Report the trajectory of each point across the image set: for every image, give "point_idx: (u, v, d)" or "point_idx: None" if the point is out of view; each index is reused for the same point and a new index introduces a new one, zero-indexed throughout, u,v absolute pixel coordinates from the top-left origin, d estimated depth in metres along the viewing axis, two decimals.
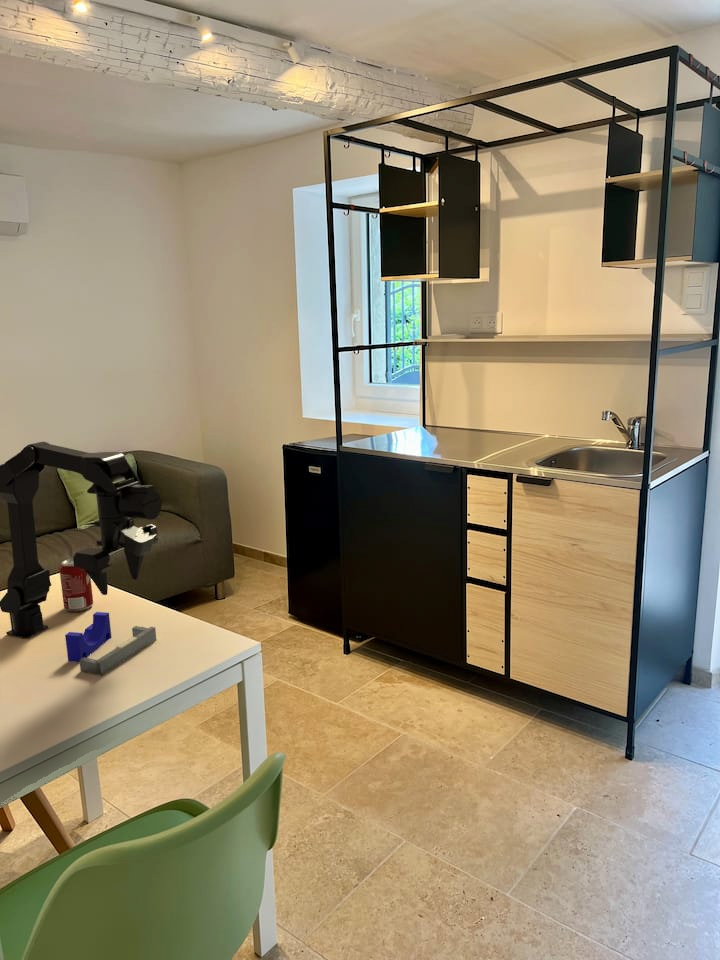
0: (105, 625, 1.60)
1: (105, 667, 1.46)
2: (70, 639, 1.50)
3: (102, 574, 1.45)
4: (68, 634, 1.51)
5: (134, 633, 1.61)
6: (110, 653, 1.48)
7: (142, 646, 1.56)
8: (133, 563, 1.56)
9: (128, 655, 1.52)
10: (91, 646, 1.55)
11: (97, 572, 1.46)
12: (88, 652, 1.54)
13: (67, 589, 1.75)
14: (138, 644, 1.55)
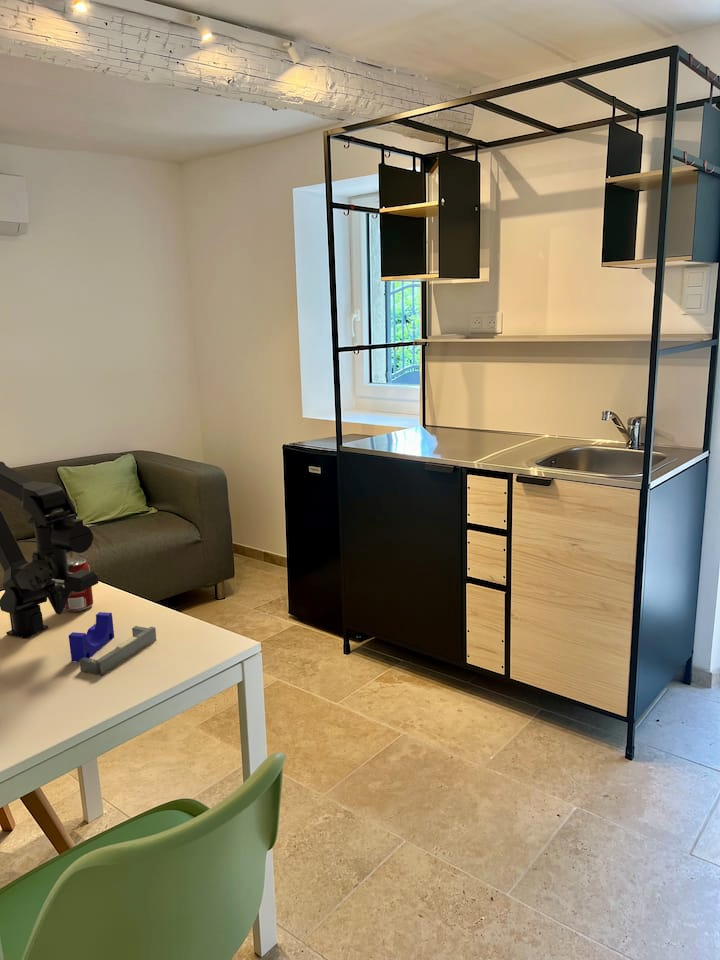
0: (108, 625, 1.60)
1: (105, 667, 1.46)
2: (73, 639, 1.50)
3: (45, 592, 1.56)
4: (71, 634, 1.51)
5: (134, 633, 1.61)
6: (110, 653, 1.48)
7: (142, 646, 1.56)
8: None
9: (128, 655, 1.52)
10: (94, 646, 1.55)
11: None
12: (91, 652, 1.54)
13: None
14: (138, 644, 1.55)
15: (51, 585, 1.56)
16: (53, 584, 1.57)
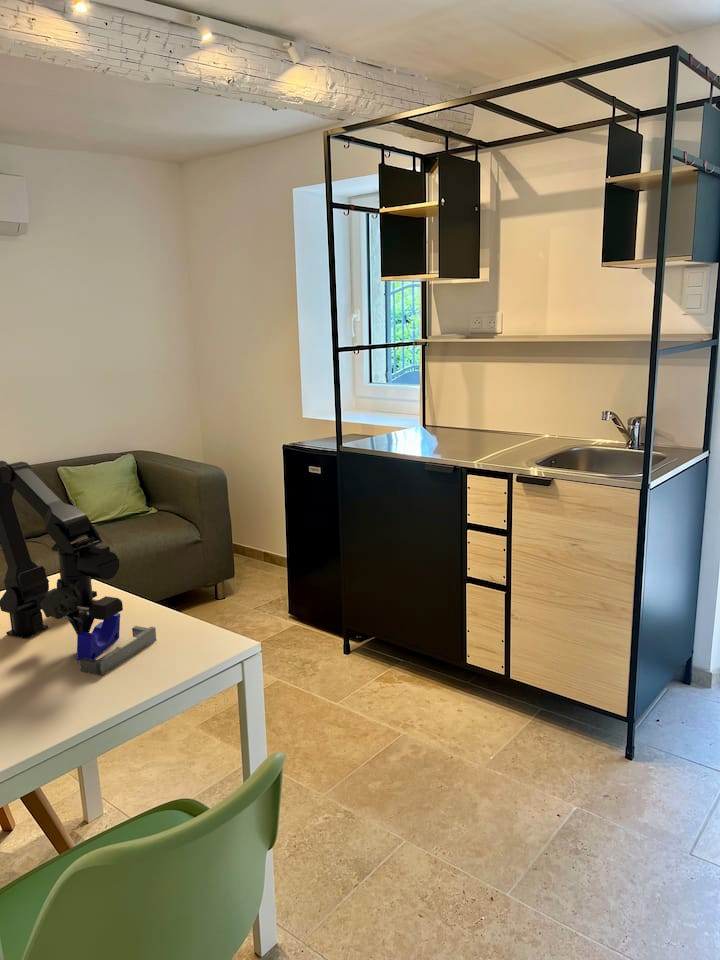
0: (115, 626, 1.59)
1: (105, 667, 1.46)
2: (82, 639, 1.50)
3: (69, 620, 1.55)
4: (80, 634, 1.50)
5: (134, 633, 1.61)
6: (110, 653, 1.48)
7: (142, 646, 1.56)
8: None
9: (128, 655, 1.52)
10: (100, 647, 1.54)
11: None
12: (97, 653, 1.53)
13: None
14: (138, 644, 1.55)
15: (75, 612, 1.55)
16: (77, 611, 1.56)
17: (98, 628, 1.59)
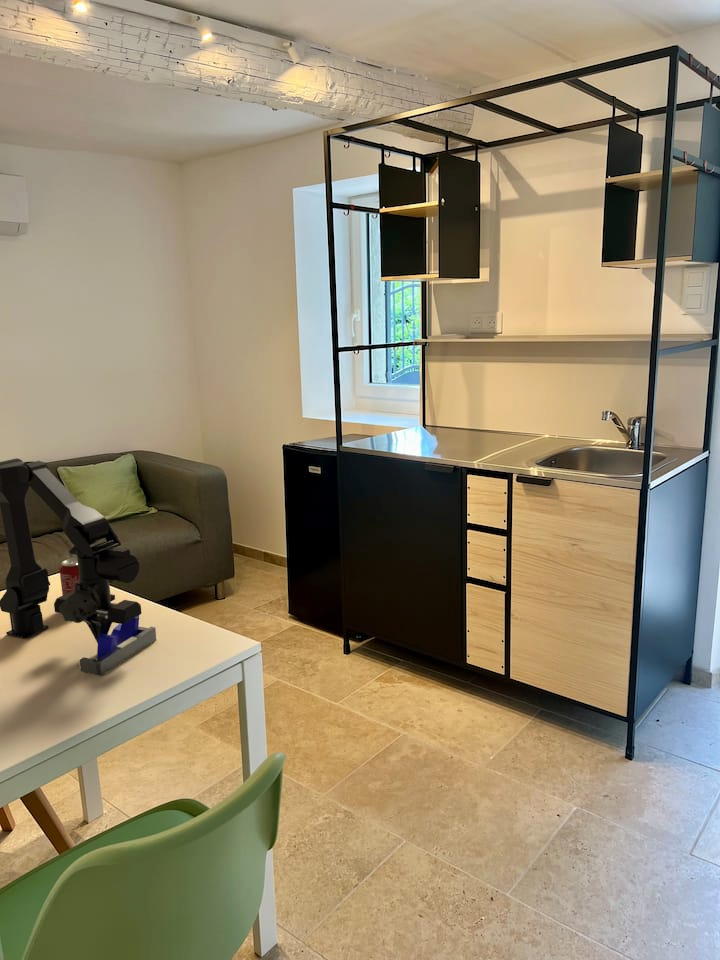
0: (134, 628, 1.58)
1: (105, 667, 1.46)
2: (103, 641, 1.48)
3: (87, 623, 1.54)
4: (101, 636, 1.49)
5: None
6: (110, 653, 1.48)
7: (142, 646, 1.56)
8: None
9: (128, 655, 1.52)
10: None
11: None
12: None
13: (67, 589, 1.75)
14: (138, 644, 1.55)
15: (93, 616, 1.54)
16: (95, 615, 1.54)
17: (117, 630, 1.58)
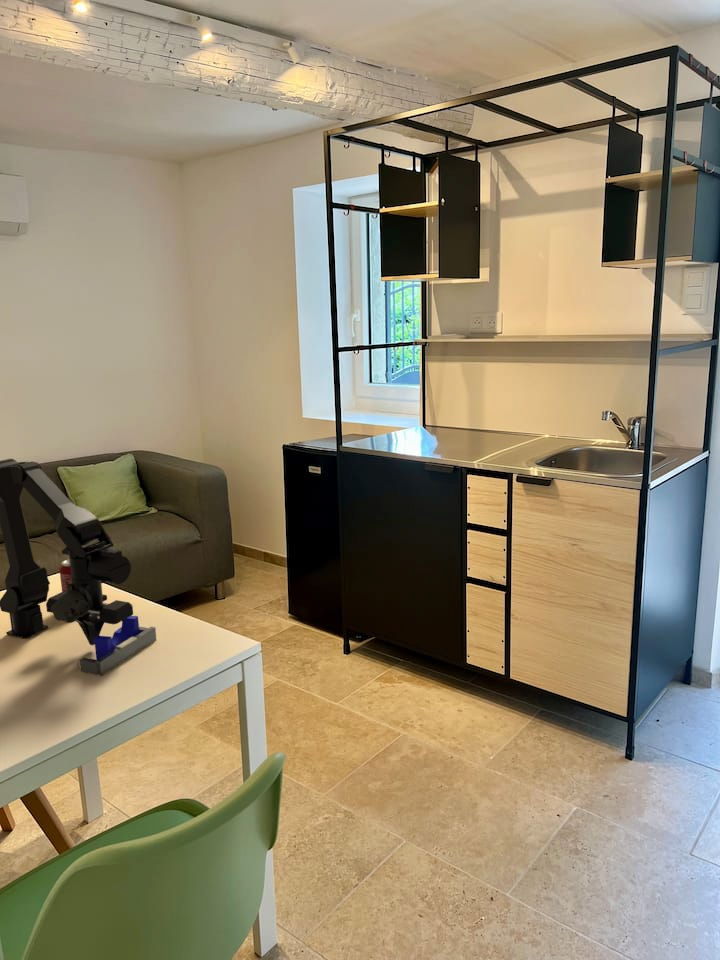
0: (134, 629, 1.58)
1: (105, 667, 1.46)
2: (99, 643, 1.49)
3: (79, 623, 1.55)
4: (97, 638, 1.49)
5: None
6: (110, 653, 1.48)
7: (142, 646, 1.56)
8: None
9: (128, 655, 1.52)
10: None
11: None
12: None
13: None
14: (138, 644, 1.55)
15: (85, 616, 1.55)
16: (87, 615, 1.55)
17: (118, 633, 1.58)
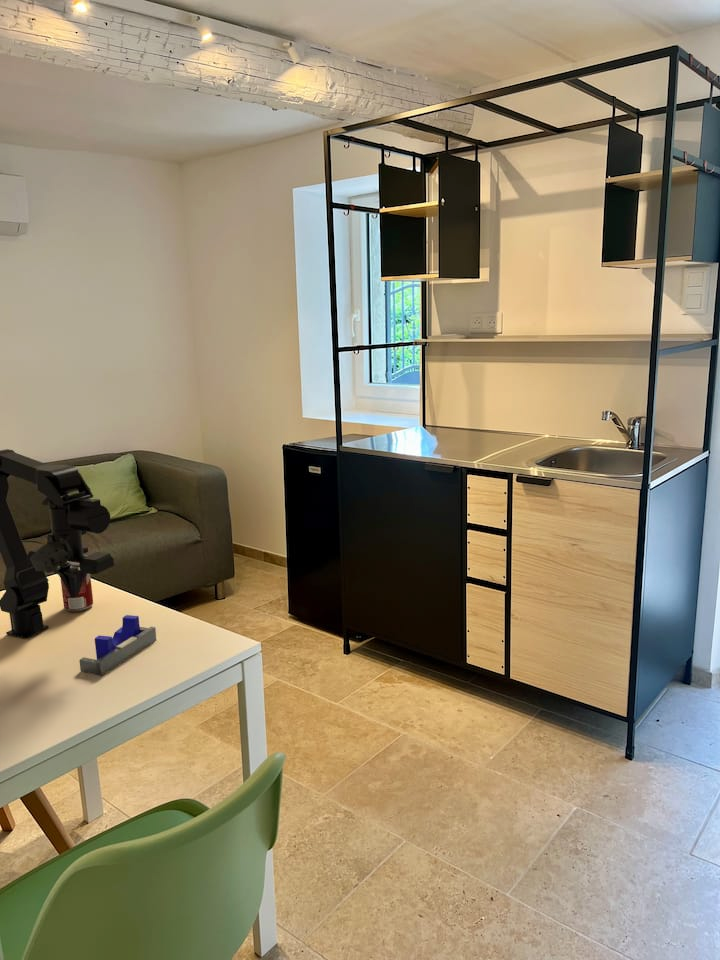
0: (135, 628, 1.58)
1: (105, 667, 1.46)
2: (99, 643, 1.49)
3: (60, 576, 1.54)
4: (97, 638, 1.49)
5: None
6: (110, 653, 1.48)
7: (142, 646, 1.56)
8: None
9: (128, 655, 1.52)
10: None
11: None
12: None
13: None
14: (138, 644, 1.55)
15: (66, 568, 1.54)
16: (68, 567, 1.54)
17: (118, 633, 1.58)
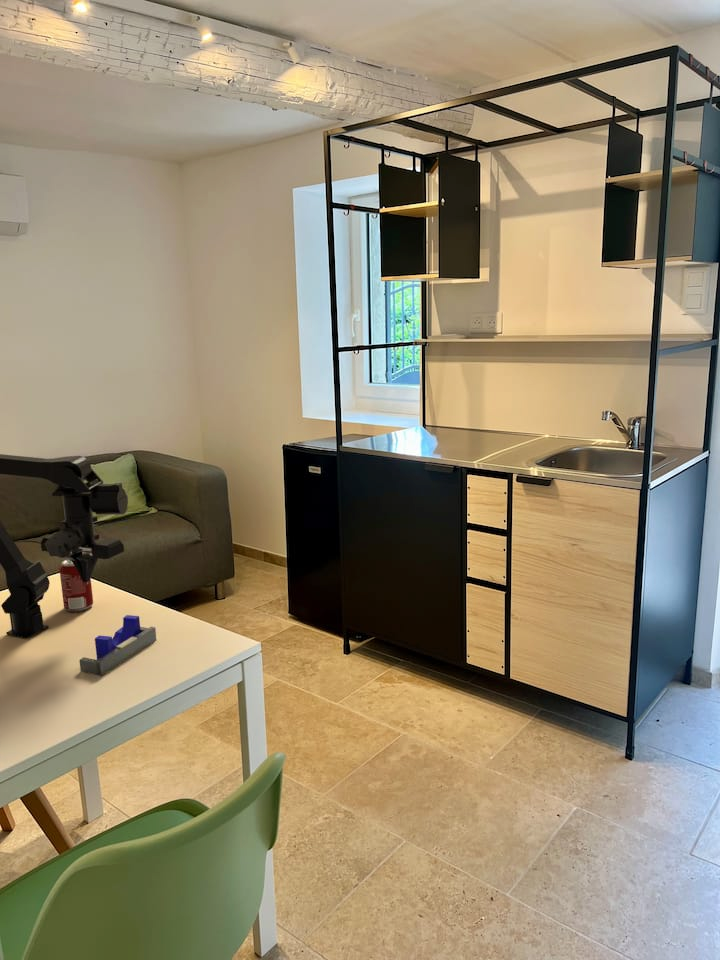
0: (135, 629, 1.58)
1: (105, 667, 1.46)
2: (99, 643, 1.49)
3: (72, 561, 1.61)
4: (98, 638, 1.49)
5: None
6: (110, 653, 1.48)
7: (142, 646, 1.56)
8: None
9: (128, 655, 1.52)
10: None
11: None
12: None
13: (67, 589, 1.75)
14: (138, 644, 1.55)
15: (78, 554, 1.61)
16: (80, 553, 1.62)
17: (119, 633, 1.58)
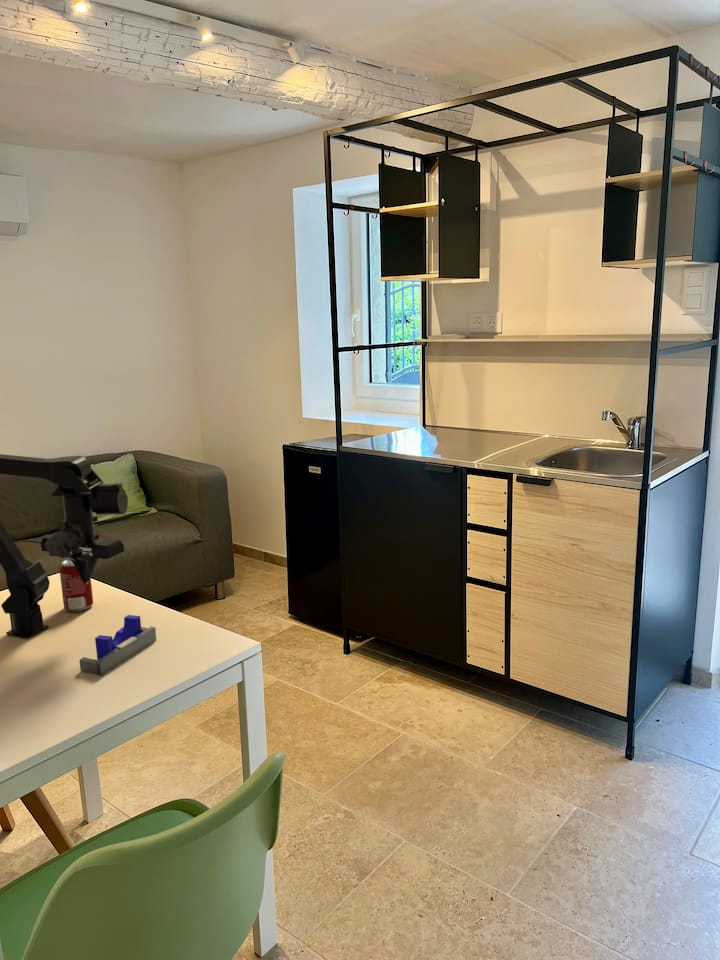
0: (136, 629, 1.58)
1: (105, 667, 1.46)
2: (100, 642, 1.49)
3: (72, 561, 1.61)
4: (98, 637, 1.49)
5: None
6: (110, 653, 1.48)
7: (142, 646, 1.56)
8: None
9: (128, 655, 1.52)
10: None
11: None
12: None
13: (67, 589, 1.75)
14: (138, 644, 1.55)
15: (78, 554, 1.61)
16: (80, 553, 1.62)
17: (120, 633, 1.58)
